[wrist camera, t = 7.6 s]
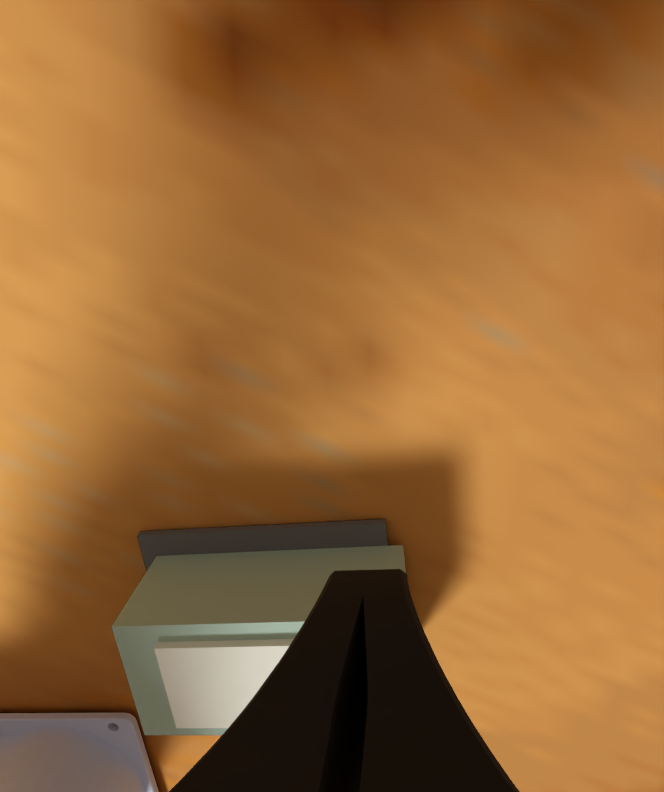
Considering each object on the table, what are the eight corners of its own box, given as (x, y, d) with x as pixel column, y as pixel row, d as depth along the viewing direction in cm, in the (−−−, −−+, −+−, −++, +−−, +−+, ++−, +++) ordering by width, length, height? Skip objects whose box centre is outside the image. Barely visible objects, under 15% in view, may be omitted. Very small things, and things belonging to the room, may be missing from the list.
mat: (176, 665, 25) (173, 670, 25) (139, 531, 23) (136, 535, 23) (400, 661, 24) (400, 666, 24) (385, 518, 22) (385, 523, 22)
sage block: (412, 648, 23) (182, 652, 25) (403, 545, 22) (156, 555, 23) (417, 742, 19) (141, 742, 21) (406, 625, 18) (107, 632, 19)
